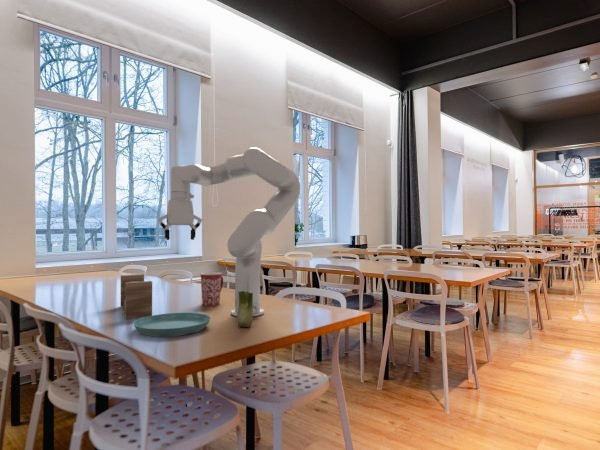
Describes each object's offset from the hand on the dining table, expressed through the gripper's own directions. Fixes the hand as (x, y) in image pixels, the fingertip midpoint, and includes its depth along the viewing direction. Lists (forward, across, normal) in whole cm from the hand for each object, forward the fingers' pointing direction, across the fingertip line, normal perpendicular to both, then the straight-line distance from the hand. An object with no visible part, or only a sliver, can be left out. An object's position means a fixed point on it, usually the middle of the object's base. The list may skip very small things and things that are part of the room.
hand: (180, 239), depth 165 cm
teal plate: (+29, +8, +29) cm, 42 cm away
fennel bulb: (+28, -14, +37) cm, 49 cm away
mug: (+28, -16, -8) cm, 34 cm away
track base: (+28, +16, -6) cm, 33 cm away
